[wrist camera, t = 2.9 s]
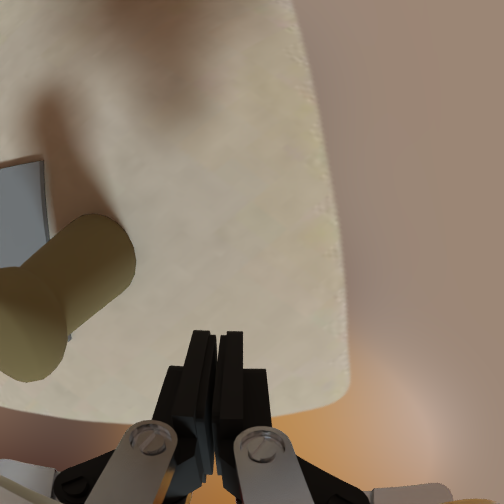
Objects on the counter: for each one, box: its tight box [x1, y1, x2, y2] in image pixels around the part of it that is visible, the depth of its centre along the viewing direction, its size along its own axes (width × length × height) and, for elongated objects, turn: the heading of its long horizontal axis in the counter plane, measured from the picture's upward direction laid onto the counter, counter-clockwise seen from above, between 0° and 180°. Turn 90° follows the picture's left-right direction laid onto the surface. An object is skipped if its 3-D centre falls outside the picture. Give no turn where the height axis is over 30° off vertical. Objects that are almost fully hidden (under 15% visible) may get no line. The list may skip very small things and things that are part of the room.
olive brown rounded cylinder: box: [0, 214, 136, 383], centre depth 13 cm, size 6×6×11 cm
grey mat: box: [0, 161, 72, 342], centre depth 18 cm, size 14×12×1 cm
